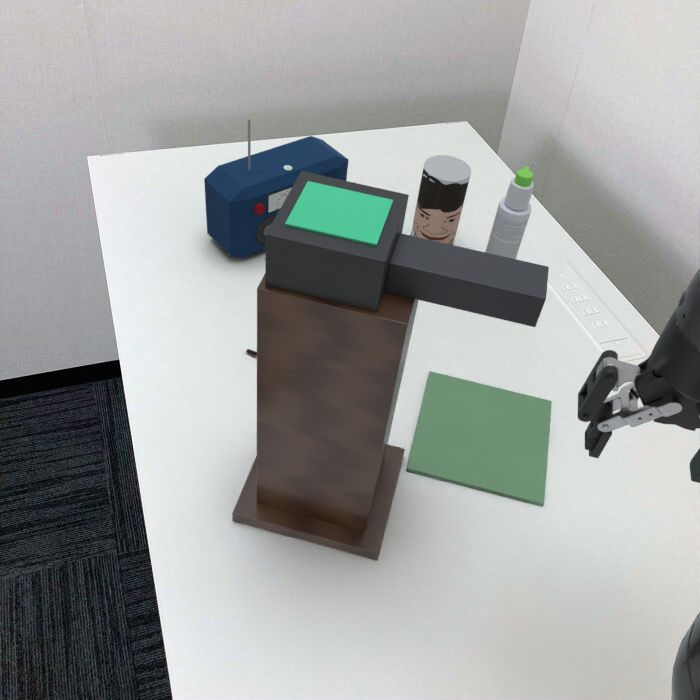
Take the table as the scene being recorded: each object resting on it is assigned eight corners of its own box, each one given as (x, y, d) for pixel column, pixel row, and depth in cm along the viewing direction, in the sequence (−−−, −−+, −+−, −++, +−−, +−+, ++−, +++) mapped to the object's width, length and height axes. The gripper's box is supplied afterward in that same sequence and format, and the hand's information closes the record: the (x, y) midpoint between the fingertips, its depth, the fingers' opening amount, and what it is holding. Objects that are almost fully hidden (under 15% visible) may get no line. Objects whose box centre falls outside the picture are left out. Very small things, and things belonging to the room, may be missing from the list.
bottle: (509, 289, 110) (547, 173, 95) (496, 303, 107) (533, 186, 93) (484, 276, 111) (517, 160, 97) (470, 290, 109) (502, 173, 94)
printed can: (399, 252, 113) (414, 167, 103) (422, 233, 117) (439, 149, 107) (436, 271, 111) (455, 187, 100) (458, 251, 115) (479, 167, 104)
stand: (403, 456, 87) (456, 238, 64) (377, 560, 77) (429, 348, 54) (273, 422, 88) (279, 199, 65) (232, 520, 79) (222, 298, 56)
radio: (236, 268, 107) (233, 146, 93) (204, 237, 112) (197, 116, 97) (347, 223, 117) (360, 107, 103) (314, 196, 122) (323, 81, 107)
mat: (550, 403, 95) (551, 400, 94) (543, 506, 84) (544, 504, 83) (429, 373, 96) (429, 370, 96) (405, 470, 85) (406, 468, 85)
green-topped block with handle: (540, 276, 61) (558, 225, 57) (532, 349, 55) (553, 298, 51) (298, 220, 63) (301, 168, 60) (264, 285, 57) (265, 231, 53)
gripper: (630, 338, 48) (557, 477, 60) (853, 388, 47) (735, 520, 59) (626, 268, 54) (560, 409, 65) (828, 311, 52) (723, 447, 64)
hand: (643, 461), depth 62 cm, fingers open, 8 cm apart
